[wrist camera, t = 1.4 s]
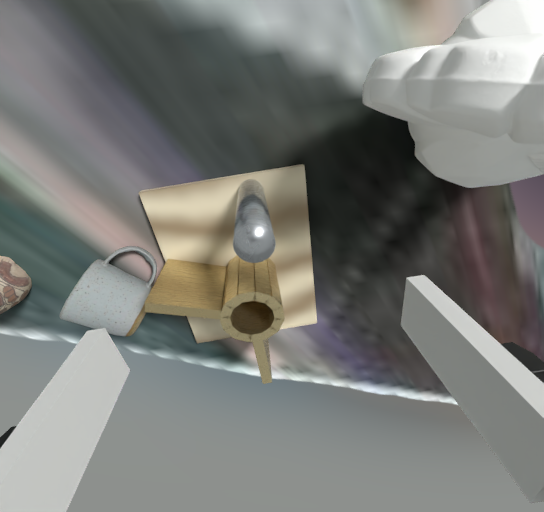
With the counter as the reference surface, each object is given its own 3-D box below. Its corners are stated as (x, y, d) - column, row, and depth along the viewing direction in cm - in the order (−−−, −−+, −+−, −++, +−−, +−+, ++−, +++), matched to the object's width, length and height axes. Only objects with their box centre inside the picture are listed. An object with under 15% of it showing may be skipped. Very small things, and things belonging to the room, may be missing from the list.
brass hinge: (164, 259, 34) (140, 303, 26) (271, 241, 34) (278, 280, 26) (197, 342, 41) (186, 396, 34) (284, 328, 42) (294, 378, 34)
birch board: (141, 190, 31) (138, 192, 30) (302, 164, 31) (304, 165, 30) (198, 338, 42) (197, 343, 42) (315, 318, 43) (317, 323, 42)
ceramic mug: (142, 314, 39) (121, 355, 32) (84, 290, 36) (48, 329, 30) (174, 260, 36) (159, 293, 29) (113, 229, 33) (79, 258, 26)
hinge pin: (235, 181, 30) (228, 228, 18) (261, 177, 30) (272, 221, 18) (241, 206, 32) (237, 265, 19) (265, 202, 32) (278, 259, 19)
